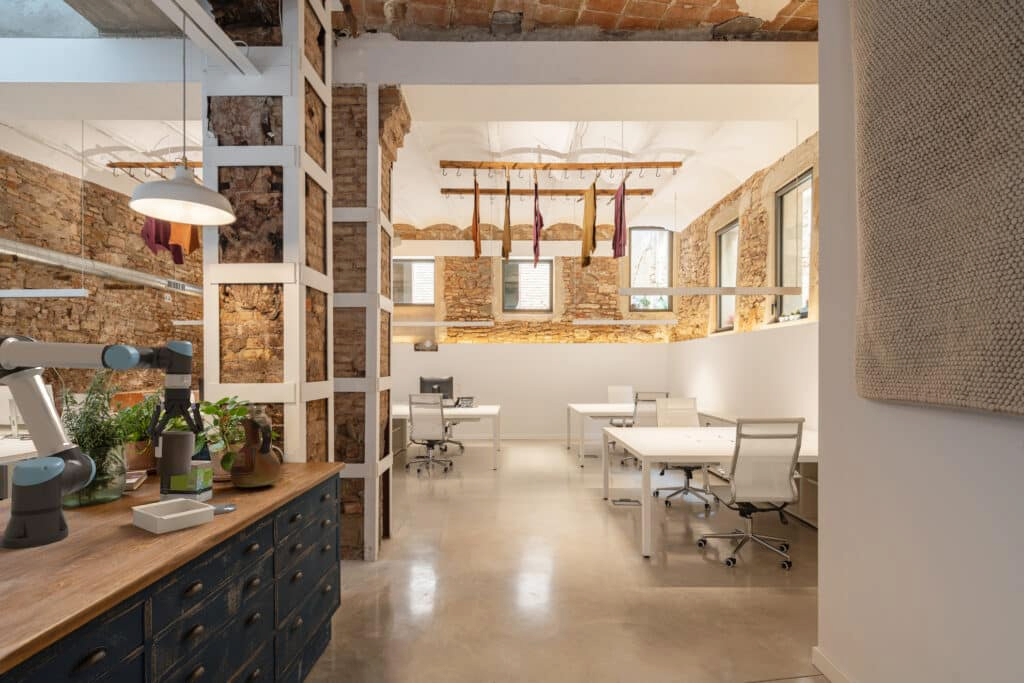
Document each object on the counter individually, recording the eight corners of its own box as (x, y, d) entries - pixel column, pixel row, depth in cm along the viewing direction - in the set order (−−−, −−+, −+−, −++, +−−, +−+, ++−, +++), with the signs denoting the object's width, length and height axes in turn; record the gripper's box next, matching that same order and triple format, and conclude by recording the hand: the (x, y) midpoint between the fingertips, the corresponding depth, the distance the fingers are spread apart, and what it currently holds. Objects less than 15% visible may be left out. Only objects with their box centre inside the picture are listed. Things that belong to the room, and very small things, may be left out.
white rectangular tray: (162, 535, 170) (162, 519, 170) (128, 523, 183) (129, 507, 183) (218, 522, 184) (218, 507, 184) (183, 511, 197) (183, 497, 197)
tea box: (213, 498, 217) (214, 460, 218) (195, 504, 207) (197, 464, 208) (177, 497, 219) (178, 459, 219) (158, 503, 209) (159, 463, 209)
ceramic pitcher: (258, 480, 251) (260, 413, 252) (291, 485, 242) (293, 415, 243) (219, 488, 233) (221, 417, 234) (252, 494, 224) (254, 419, 225)
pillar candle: (161, 477, 177) (164, 430, 178) (153, 473, 184) (155, 427, 185) (195, 474, 184) (197, 428, 185) (185, 469, 191) (188, 425, 192)
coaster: (210, 516, 192) (210, 513, 192) (192, 511, 198) (192, 508, 198) (243, 509, 202) (243, 506, 202) (225, 504, 208) (225, 501, 208)
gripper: (146, 388, 174) (143, 460, 173) (217, 386, 192) (214, 451, 192) (135, 387, 178) (132, 457, 177) (205, 386, 197) (203, 449, 196)
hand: (175, 454), depth 184 cm, fingers closed on pillar candle, 10 cm apart
